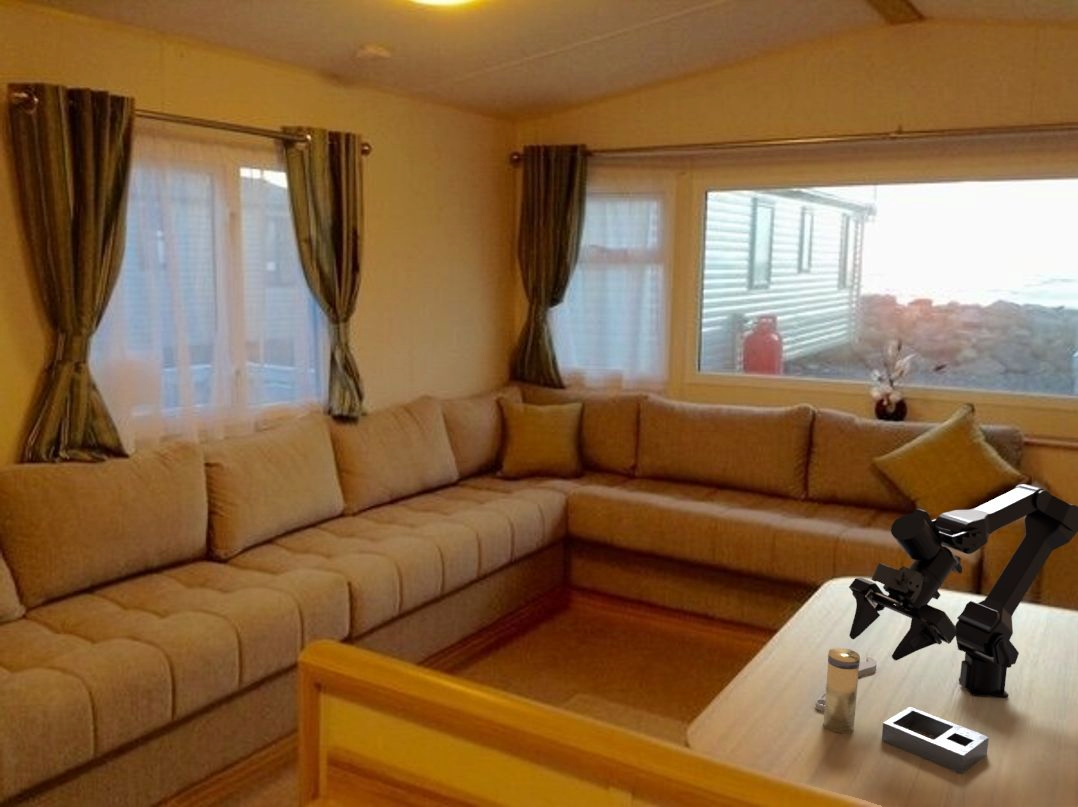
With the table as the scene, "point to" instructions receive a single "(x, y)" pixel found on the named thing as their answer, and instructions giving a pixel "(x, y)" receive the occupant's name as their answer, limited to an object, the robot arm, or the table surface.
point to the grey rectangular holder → (949, 747)
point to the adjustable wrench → (863, 670)
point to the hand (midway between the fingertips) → (871, 648)
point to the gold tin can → (841, 690)
